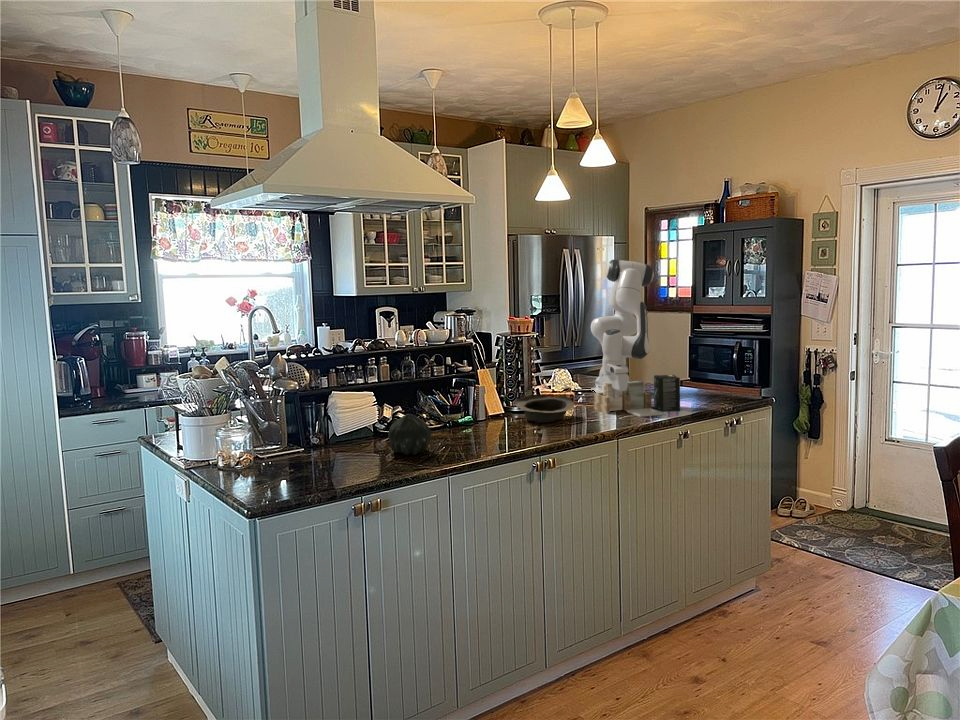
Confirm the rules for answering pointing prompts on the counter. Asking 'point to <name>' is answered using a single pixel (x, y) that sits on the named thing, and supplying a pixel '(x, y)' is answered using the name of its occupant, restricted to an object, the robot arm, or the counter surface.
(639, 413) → the tile
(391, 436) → the squash
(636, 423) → the counter surface
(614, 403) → the block
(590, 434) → the counter surface
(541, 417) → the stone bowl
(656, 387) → the tampon box
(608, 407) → the shelf
